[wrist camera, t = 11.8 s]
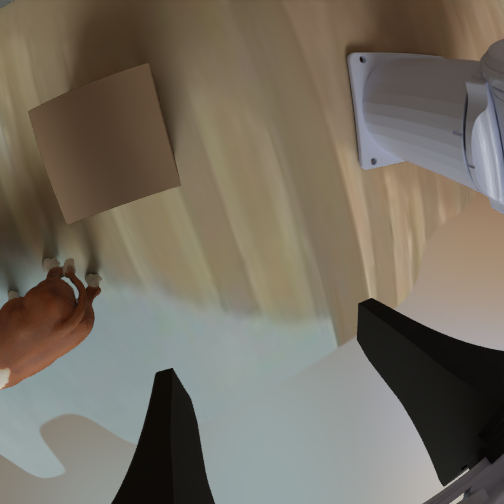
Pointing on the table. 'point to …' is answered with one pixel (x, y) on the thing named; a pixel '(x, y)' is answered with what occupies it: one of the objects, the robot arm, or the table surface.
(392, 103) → the robot arm
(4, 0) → the slate mat
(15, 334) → the bull figurine
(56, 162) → the walnut block
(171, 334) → the table surface
